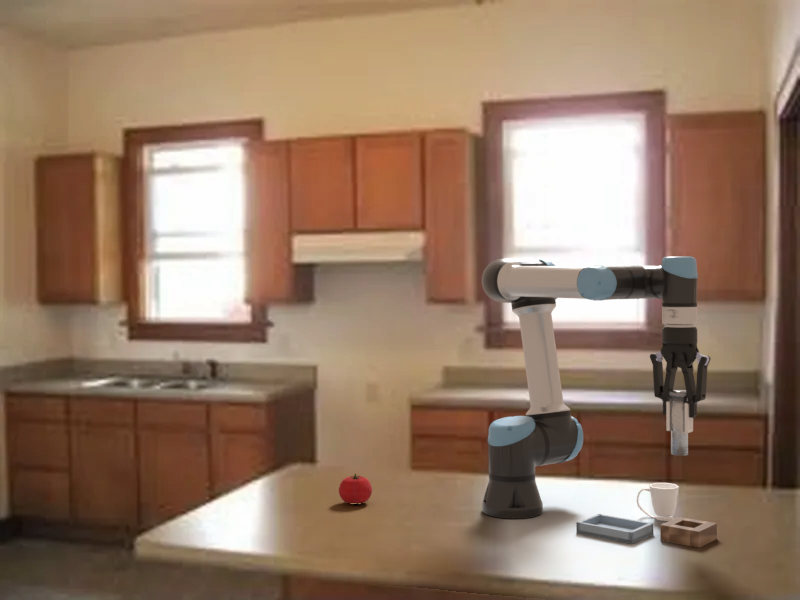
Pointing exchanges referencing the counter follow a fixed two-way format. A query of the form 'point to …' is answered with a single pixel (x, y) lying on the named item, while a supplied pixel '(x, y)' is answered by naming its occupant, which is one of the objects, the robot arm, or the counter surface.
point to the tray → (615, 528)
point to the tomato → (355, 489)
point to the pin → (678, 423)
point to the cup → (662, 500)
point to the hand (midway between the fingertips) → (679, 430)
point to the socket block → (688, 532)
